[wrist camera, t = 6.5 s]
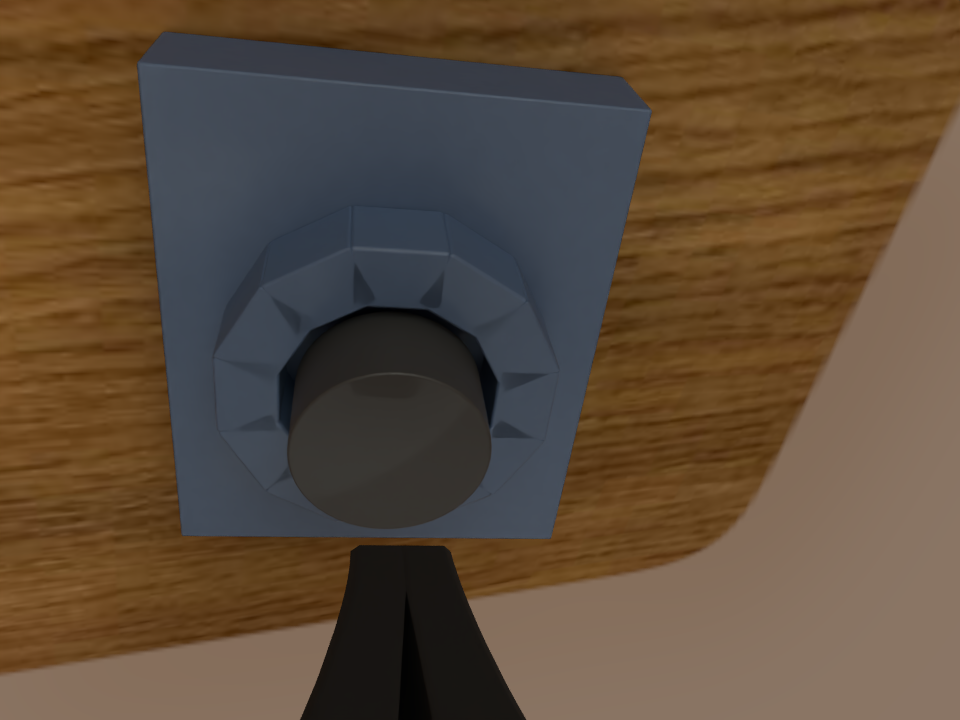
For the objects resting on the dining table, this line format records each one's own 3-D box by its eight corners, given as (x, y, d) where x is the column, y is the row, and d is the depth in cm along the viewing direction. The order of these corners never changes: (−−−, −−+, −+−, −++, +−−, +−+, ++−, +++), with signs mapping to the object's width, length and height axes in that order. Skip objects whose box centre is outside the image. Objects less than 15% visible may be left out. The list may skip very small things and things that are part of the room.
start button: (468, 461, 18) (478, 531, 16) (294, 457, 17) (286, 529, 16) (490, 314, 16) (505, 377, 14) (295, 304, 15) (286, 368, 14)
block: (536, 481, 23) (565, 595, 20) (196, 474, 22) (166, 596, 19) (623, 76, 17) (683, 144, 14) (162, 31, 16) (108, 94, 13)
